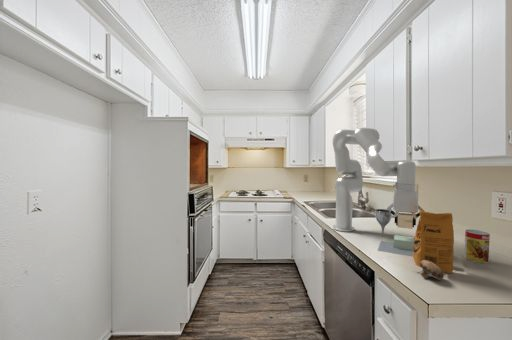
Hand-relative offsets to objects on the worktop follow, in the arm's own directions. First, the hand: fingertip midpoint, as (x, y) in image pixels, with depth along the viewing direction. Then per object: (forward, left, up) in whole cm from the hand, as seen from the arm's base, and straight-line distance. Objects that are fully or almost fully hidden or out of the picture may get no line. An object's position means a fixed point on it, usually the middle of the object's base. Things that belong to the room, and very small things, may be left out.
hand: (405, 225), depth 123 cm
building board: (+4, -3, -11) cm, 12 cm away
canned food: (-2, +27, -11) cm, 29 cm away
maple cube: (0, 0, -1) cm, 1 cm away
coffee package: (+19, +10, -12) cm, 24 cm away
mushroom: (+30, +9, -12) cm, 34 cm away
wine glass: (-15, -10, -11) cm, 21 cm away
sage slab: (0, 0, -10) cm, 10 cm away
